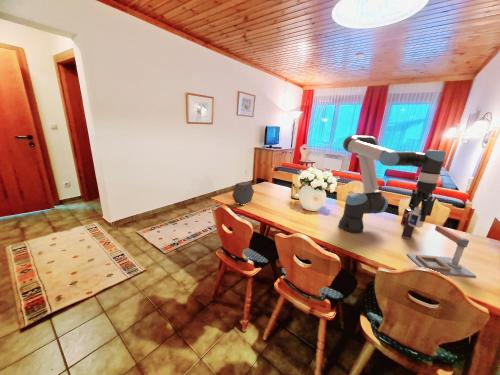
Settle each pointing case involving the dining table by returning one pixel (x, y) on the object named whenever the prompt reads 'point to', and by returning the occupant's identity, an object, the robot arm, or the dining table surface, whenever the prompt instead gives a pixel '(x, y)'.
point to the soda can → (405, 216)
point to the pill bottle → (414, 216)
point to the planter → (243, 193)
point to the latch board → (443, 263)
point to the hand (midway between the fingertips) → (414, 223)
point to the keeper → (452, 236)
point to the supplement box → (407, 229)
